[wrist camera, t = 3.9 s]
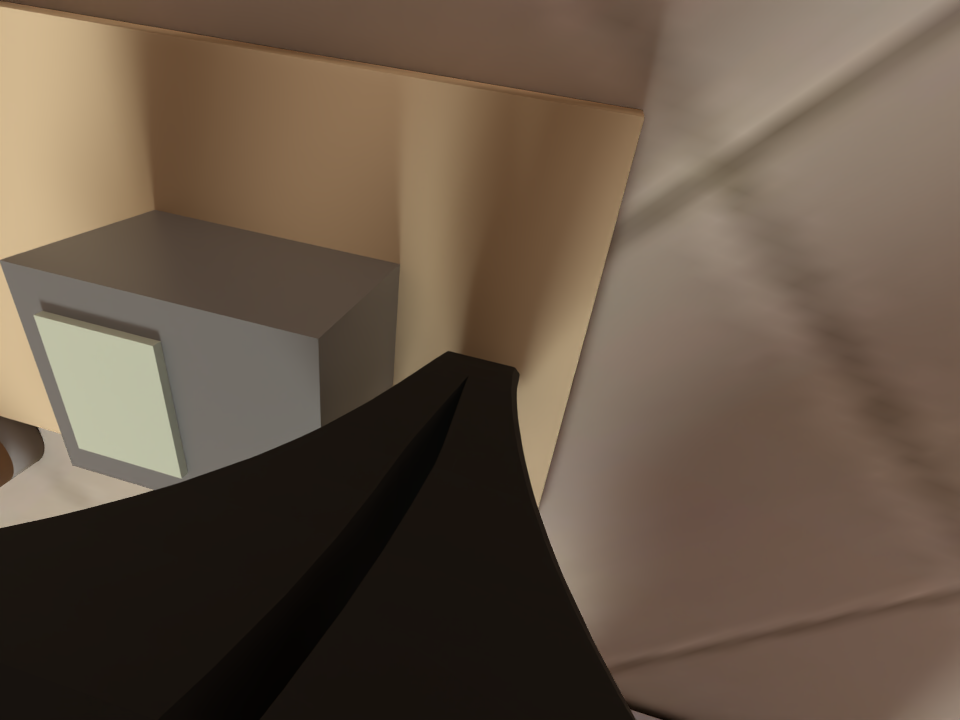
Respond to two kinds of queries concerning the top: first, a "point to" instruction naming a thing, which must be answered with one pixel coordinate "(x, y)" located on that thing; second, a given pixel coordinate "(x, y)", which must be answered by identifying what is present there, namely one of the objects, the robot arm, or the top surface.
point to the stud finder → (199, 341)
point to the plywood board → (321, 185)
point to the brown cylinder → (18, 448)
